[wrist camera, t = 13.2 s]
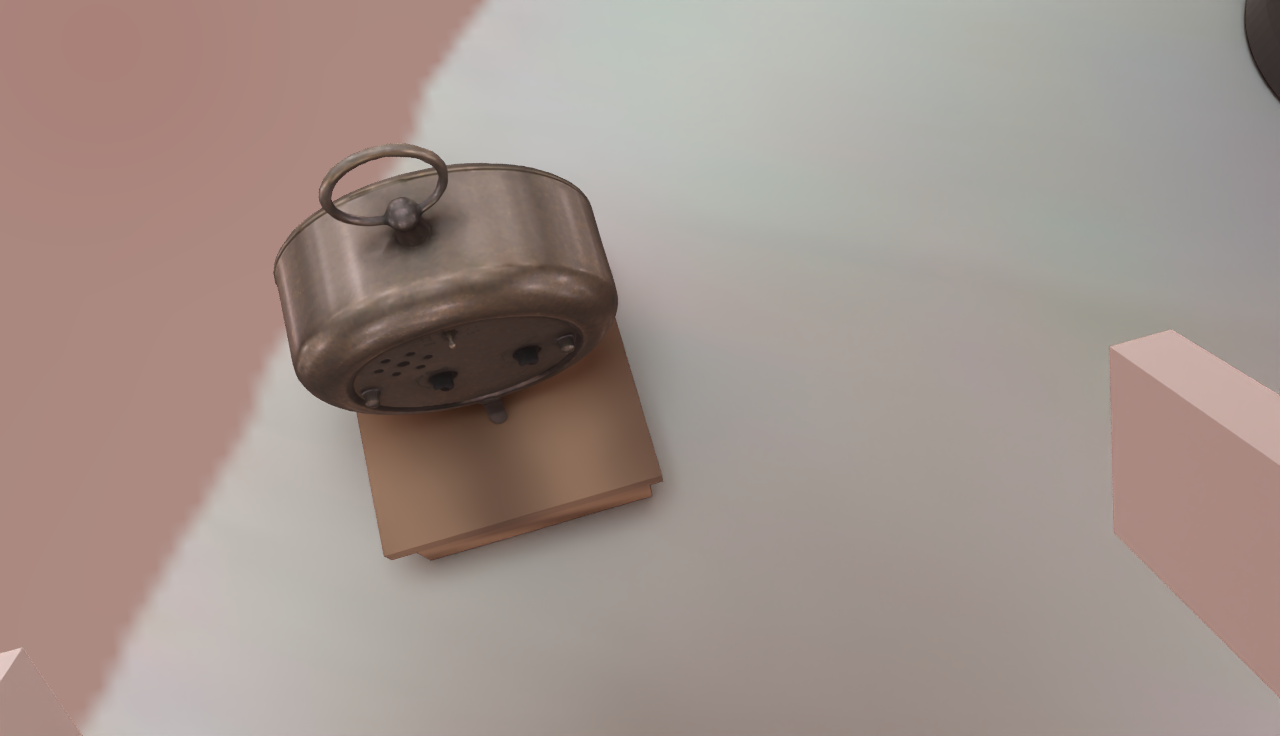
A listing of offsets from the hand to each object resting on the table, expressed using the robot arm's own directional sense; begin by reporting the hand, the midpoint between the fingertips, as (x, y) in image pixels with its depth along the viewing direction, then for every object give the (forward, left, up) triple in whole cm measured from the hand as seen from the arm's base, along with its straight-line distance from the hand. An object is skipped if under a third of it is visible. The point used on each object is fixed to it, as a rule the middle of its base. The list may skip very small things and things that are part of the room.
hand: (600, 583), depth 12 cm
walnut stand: (+4, -13, -30) cm, 33 cm away
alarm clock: (+3, -13, -25) cm, 28 cm away
